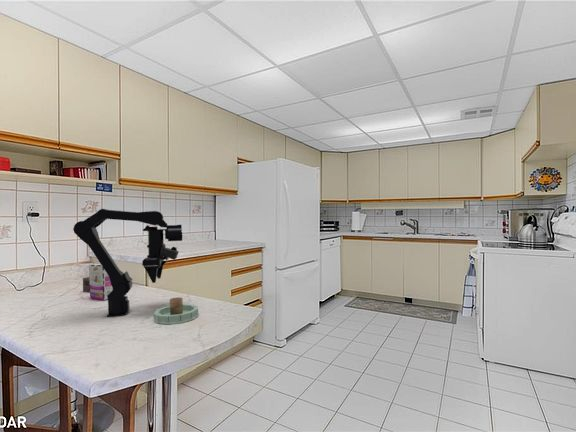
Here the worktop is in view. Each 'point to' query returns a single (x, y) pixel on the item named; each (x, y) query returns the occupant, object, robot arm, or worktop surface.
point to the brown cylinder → (176, 306)
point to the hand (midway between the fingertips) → (156, 280)
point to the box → (86, 284)
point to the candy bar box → (99, 282)
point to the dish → (165, 318)
